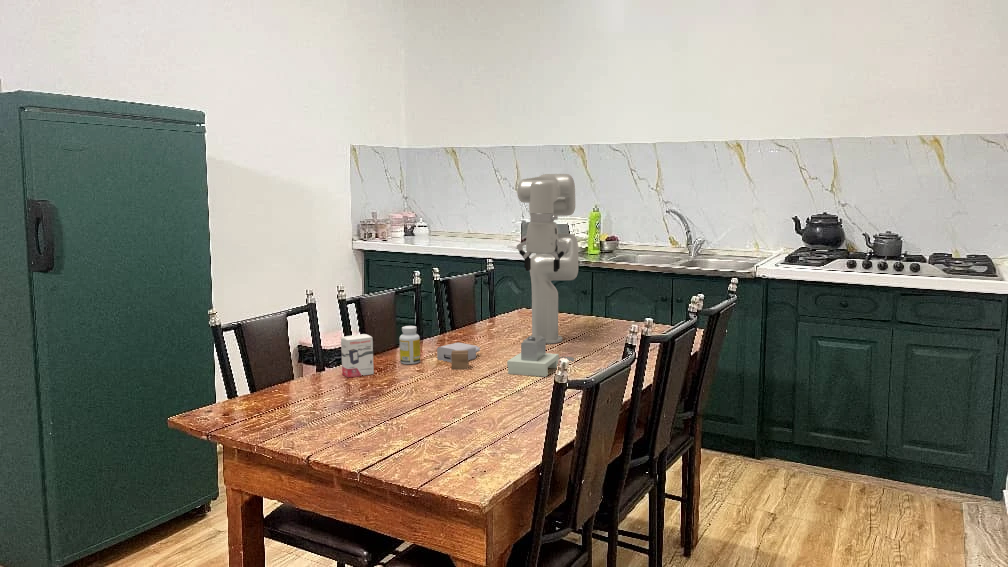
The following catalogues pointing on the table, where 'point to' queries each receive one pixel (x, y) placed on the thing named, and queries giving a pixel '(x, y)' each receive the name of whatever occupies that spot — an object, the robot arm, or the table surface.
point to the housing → (533, 348)
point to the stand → (532, 365)
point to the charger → (446, 350)
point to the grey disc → (569, 358)
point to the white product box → (357, 355)
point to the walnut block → (459, 359)
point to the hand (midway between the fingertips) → (541, 270)
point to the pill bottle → (409, 345)
